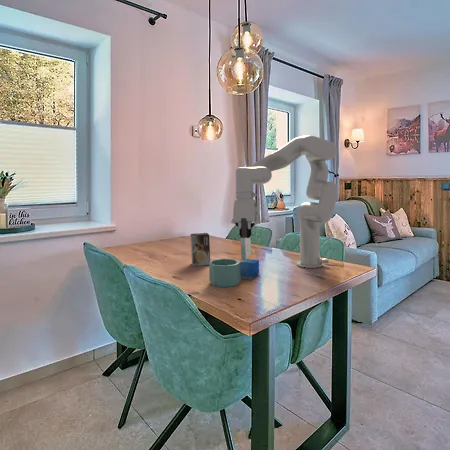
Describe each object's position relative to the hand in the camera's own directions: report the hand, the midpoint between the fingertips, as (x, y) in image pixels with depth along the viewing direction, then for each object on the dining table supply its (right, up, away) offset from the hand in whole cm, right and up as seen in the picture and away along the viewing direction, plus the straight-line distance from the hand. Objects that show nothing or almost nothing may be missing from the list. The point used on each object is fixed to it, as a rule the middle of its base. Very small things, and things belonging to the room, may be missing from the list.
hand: (245, 237), depth 154 cm
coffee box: (-22, -15, +27) cm, 38 cm away
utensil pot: (-9, -19, -6) cm, 22 cm away
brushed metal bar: (+1, -9, +2) cm, 9 cm away
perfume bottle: (+6, -14, +3) cm, 15 cm away
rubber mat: (-2, -18, +3) cm, 18 cm away
